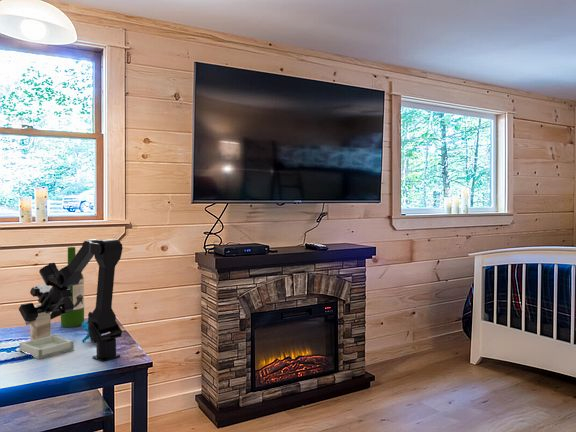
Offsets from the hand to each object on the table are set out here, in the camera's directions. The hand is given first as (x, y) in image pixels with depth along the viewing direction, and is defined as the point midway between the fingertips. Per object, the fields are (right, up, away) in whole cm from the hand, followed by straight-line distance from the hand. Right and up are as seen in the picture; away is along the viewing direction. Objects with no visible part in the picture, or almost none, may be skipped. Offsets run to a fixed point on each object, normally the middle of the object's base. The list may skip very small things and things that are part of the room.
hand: (38, 321), depth 177 cm
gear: (+21, -7, -1) cm, 22 cm away
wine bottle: (+3, -6, +22) cm, 23 cm away
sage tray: (+10, -7, -12) cm, 17 cm away
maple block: (+1, -7, 0) cm, 7 cm away
